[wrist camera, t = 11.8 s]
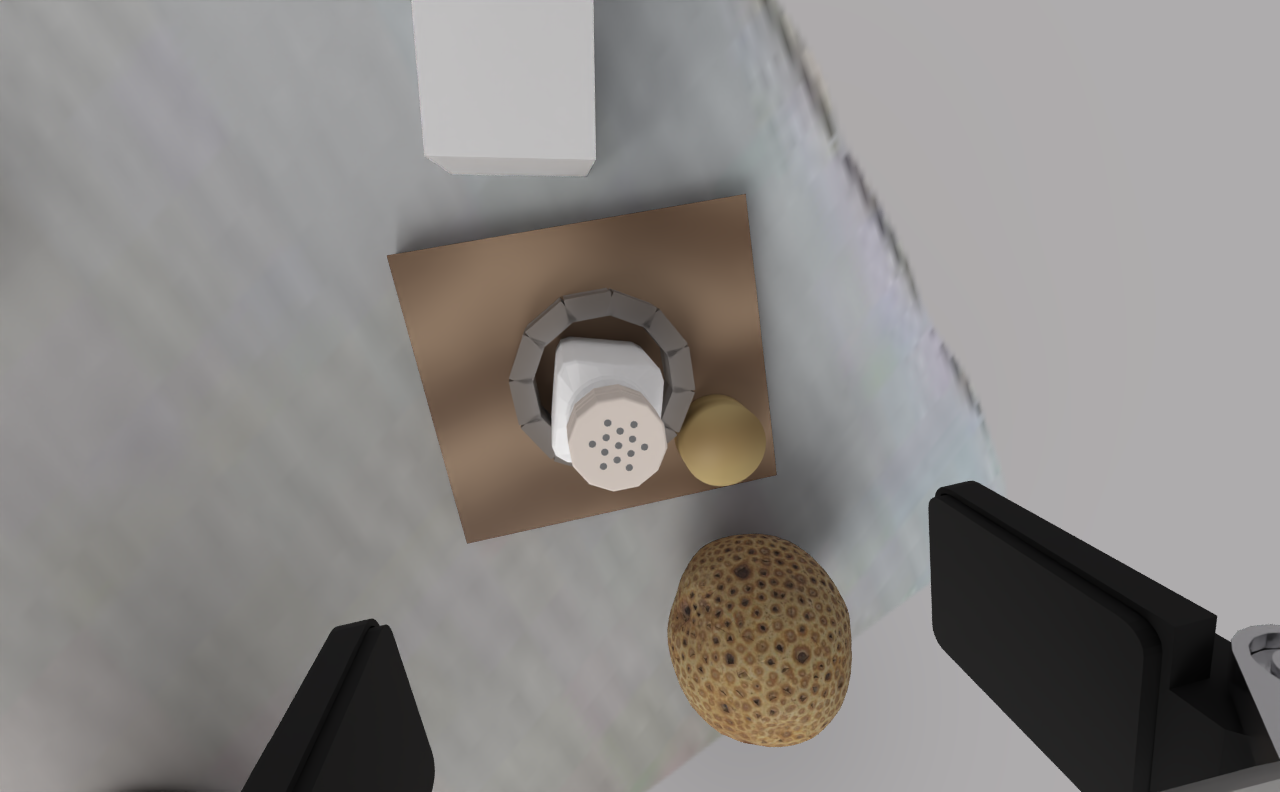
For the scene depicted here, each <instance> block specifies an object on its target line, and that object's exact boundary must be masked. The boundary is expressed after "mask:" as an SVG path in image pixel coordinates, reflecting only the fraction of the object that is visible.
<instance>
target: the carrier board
mask: <svg viewBox="0 0 1280 792" xmlns="http://www.w3.org/2000/svg"><path fill="white" fill-rule="evenodd" d="M387 259H388V262H389V266H390V269H391V273H392V276H393V280H394V284H395V287H396V291H397V294H398V298H399V302H400V305H401V309H402V312H403V316H404V319H405V323H406V327H407V330H408V334H409V337H410V341H411V345H412V348H413V352H414V355H415V359H416V362H417V366H418V370H419V373H420V377H421V380H422V384H423V387H424V391H425V395H426V398H427V402H428V405H429V409H430V413H431V416H432V420H433V423H434V427H435V430H436V434H437V438H438V441H439V445H440V448H441V452H442V456H443V459H444V463H445V466H446V470H447V473H448V477H449V481H450V484H451V488H452V491H453V495H454V498H455V502H456V506H457V509H458V513H459V516H460V520H461V524H462V527H463V531H464V534H465V538H466V541H467V544H468V543H472V542H477V541H481V540H486V539H490V538H495V537H499V536H504V535H508V534H513V533H517V532H522V531H526V530H531V529H535V528H540V527H544V526H549V525H554V524H558V523H563V522H567V521H572V520H576V519H581V518H585V517H590V516H594V515H599V514H603V513H608V512H612V511H617V510H621V509H626V508H630V507H635V506H639V505H644V504H648V503H653V502H657V501H662V500H666V499H671V498H675V497H680V496H684V495H689V494H693V493H698V492H702V491H707V490H711V489H716V488H721V487H725V486H730V485H734V484H739V483H743V482H748V481H752V480H757V479H761V478H766V477H770V476H775V475H777V473H776V464H775V455H774V446H773V437H772V428H771V419H770V410H769V401H768V392H767V383H766V374H765V365H764V356H763V347H762V338H761V329H760V320H759V310H758V301H757V292H756V283H755V274H754V265H753V256H752V247H751V238H750V229H749V220H748V211H747V202H746V194H743V195H737V196H731V197H725V198H719V199H713V200H708V201H702V202H696V203H690V204H684V205H678V206H673V207H667V208H661V209H655V210H649V211H643V212H638V213H632V214H626V215H620V216H614V217H608V218H603V219H597V220H591V221H585V222H579V223H573V224H568V225H562V226H556V227H550V228H544V229H539V230H533V231H527V232H521V233H515V234H509V235H504V236H498V237H492V238H486V239H480V240H474V241H469V242H463V243H457V244H451V245H445V246H439V247H434V248H428V249H422V250H416V251H410V252H404V253H399V254H393V255H387ZM567 337H582V338H594V339H606V340H618V341H629V342H633V343H635V344H637V345H639V346H640V347H641V348H642V349H643V350H644V351H645V353H646V354H647V355H648V356H649V357H650V358H651V360H652V361H653V362H654V363H655V364H656V365H657V367H658V368H659V369H660V371H661V374H662V377H663V380H664V387H663V401H662V411H661V420H662V421H663V423H664V428H665V434H666V441H667V450H666V452H665V455H664V457H663V460H662V462H661V465H660V467H659V469H658V471H657V472H655V473H654V474H653V475H652V476H651V477H649V478H648V479H647V480H646V481H644V482H643V483H642V484H641V485H640V486H638V487H633V488H628V489H623V490H618V491H610V490H607V489H604V488H600V487H597V486H594V485H590V484H589V483H588V482H587V481H586V480H585V479H584V478H583V477H582V476H581V475H580V474H579V473H578V471H577V470H576V469H575V468H574V467H573V466H572V463H571V462H566V461H564V460H563V459H561V458H559V457H557V456H556V455H555V453H554V450H553V448H552V418H551V407H552V393H553V380H554V366H555V353H556V347H557V345H558V343H559V341H560V340H561V339H564V338H567Z"/></svg>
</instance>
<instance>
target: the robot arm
mask: <svg viewBox="0 0 1280 792" xmlns="http://www.w3.org/2000/svg"><path fill="white" fill-rule="evenodd" d="M929 537H930V567H931V596H932V625H933V631H934V635H935V637H936V639H937V641H938V643H939V645H940V646H941V647H942V649H943V650H944V651H945V652H946V653H947V654H948V655H949V656H950V657H951V658H952V659H953V660H954V661H955V662H956V663H957V664H958V665H959V666H960V667H961V668H962V669H963V670H964V672H965V673H967V675H968V676H970V678H971V679H972V680H973V681H974V682H975V683H976V684H977V685H978V686H979V687H980V688H981V689H982V690H983V691H984V692H985V693H986V694H987V695H988V696H989V697H990V698H991V699H992V700H993V701H994V702H995V703H996V704H997V705H998V706H999V707H1000V708H1001V710H1002V711H1003V712H1004V713H1005V714H1006V715H1007V716H1008V717H1009V718H1010V719H1011V720H1012V721H1013V722H1014V723H1015V724H1016V725H1017V726H1018V727H1019V728H1020V729H1021V730H1022V731H1023V732H1024V733H1025V734H1026V735H1027V736H1028V737H1029V738H1030V739H1031V740H1032V741H1033V742H1034V743H1035V744H1036V746H1038V748H1039V749H1040V750H1041V751H1042V752H1043V753H1044V754H1045V755H1046V756H1047V757H1048V758H1049V759H1050V760H1051V761H1052V762H1053V763H1054V764H1055V765H1056V766H1057V767H1058V768H1059V769H1060V770H1061V771H1062V772H1063V773H1064V774H1065V775H1066V776H1067V777H1068V778H1069V779H1070V780H1071V782H1073V783H1074V785H1075V786H1076V787H1077V788H1078V789H1079V790H1080V791H1081V792H1280V625H1271V624H1270V625H1257V626H1250V627H1247V628H1245V629H1242V630H1239V631H1238V632H1237V633H1236V634H1235V635H1234V636H1233V638H1232V639H1231V642H1230V641H1228V640H1226V639H1224V638H1223V637H1221V636H1219V635H1217V634H1216V633H1215V630H1216V622H1217V616H1216V615H1215V614H1213V613H1211V612H1209V611H1208V610H1206V609H1204V608H1202V607H1201V606H1198V605H1197V604H1195V603H1193V602H1191V601H1190V600H1188V599H1186V598H1184V597H1183V596H1181V595H1179V594H1177V593H1175V592H1173V591H1172V590H1170V589H1168V588H1166V587H1164V586H1163V585H1161V584H1159V583H1157V582H1156V581H1154V580H1152V579H1150V578H1148V577H1147V576H1145V575H1143V574H1141V573H1139V572H1137V571H1136V570H1134V569H1132V568H1130V567H1129V566H1127V565H1125V564H1123V563H1121V562H1120V561H1118V560H1116V559H1114V558H1112V557H1110V556H1109V555H1107V554H1105V553H1103V552H1102V551H1100V550H1098V549H1096V548H1094V547H1093V546H1091V545H1089V544H1087V543H1086V542H1084V541H1082V540H1080V539H1078V538H1076V537H1075V536H1073V535H1071V534H1069V533H1068V532H1066V531H1064V530H1062V529H1060V528H1059V527H1057V526H1055V525H1053V524H1051V523H1050V522H1048V521H1046V520H1044V519H1042V518H1040V517H1039V516H1037V515H1035V514H1033V513H1032V512H1030V511H1028V510H1026V509H1024V508H1022V507H1021V506H1019V505H1017V504H1015V503H1014V502H1012V501H1010V500H1008V499H1006V498H1005V497H1003V496H1001V495H999V494H997V493H996V492H994V491H992V490H990V489H988V488H987V487H985V486H983V485H981V484H980V483H978V482H975V481H967V482H962V483H958V484H954V485H949V486H945V487H941V488H939V489H938V490H937V492H936V494H935V497H934V498H932V499H931V500H930V502H929ZM434 775H435V767H434V758H433V754H432V751H431V748H430V745H429V742H428V739H427V735H426V732H425V729H424V726H423V723H422V720H421V717H420V714H419V711H418V708H417V705H416V702H415V699H414V696H413V693H412V690H411V687H410V684H409V681H408V678H407V675H406V672H405V669H404V666H403V663H402V660H401V657H400V654H399V651H398V648H397V645H396V642H395V639H394V636H393V633H392V630H391V628H390V627H389V626H388V625H383V626H379V624H378V622H377V621H376V620H375V619H368V620H363V621H359V622H354V623H350V624H346V625H341V626H337V627H335V628H334V629H333V630H332V631H331V633H330V634H329V636H328V638H327V640H326V642H325V643H324V645H323V647H322V649H321V651H320V652H319V654H318V656H317V658H316V660H315V661H314V663H313V665H312V667H311V668H310V670H309V672H308V674H307V676H306V677H305V679H304V681H303V683H302V685H301V686H300V688H299V690H298V692H297V694H296V695H295V697H294V699H293V701H292V702H291V704H290V706H289V708H288V710H287V711H286V713H285V715H284V717H283V719H282V720H281V722H280V724H279V726H278V728H277V729H276V731H275V733H274V735H273V736H272V738H271V740H270V741H269V743H268V744H267V746H266V748H265V750H264V752H263V753H262V755H261V757H260V759H259V761H258V762H257V764H256V766H255V768H254V770H253V771H252V773H251V775H250V777H249V778H248V780H247V782H246V784H245V786H244V787H243V789H242V791H241V792H432V788H433V783H434Z"/></svg>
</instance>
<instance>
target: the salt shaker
mask: <svg viewBox="0 0 1280 792" xmlns="http://www.w3.org/2000/svg"><path fill="white" fill-rule="evenodd" d="M663 387H664V380H663V377H662V374H661V371H660V369H659V368H658V367H657V365H656V364H655V363H654V362H653V361H652V360H651V358H650V357H649V356H648V355H647V354H646V353H645V351H644V350H643V349H642V348H641V347H640V346H639V345H637V344H635V343H633V342H629V341H618V340H606V339H594V338H582V337H567V338H564V339H561V340H560V341H559V343H558V345H557V347H556V353H555V366H554V380H553V393H552V407H551V418H552V448H553V450H554V453H555V455H556V456H557V457H559V458H561V459H563V460H564V461H566V462H571V463H572V466H573V467H574V468H575V469H576V470H577V471H578V473H579V474H580V475H581V476H582V477H583V478H584V479H585V480H586V481H587V482H588V483H589V484H590V485H594V486H597V487H600V488H604V489H607V490H610V491H618V490H623V489H628V488H633V487H638V486H640V485H641V484H642V483H643V482H644V481H646V480H647V479H648V478H649V477H651V476H652V475H653V474H654V473H655V472H657V471H658V469H659V467H660V465H661V462H662V460H663V457H664V455H665V452H666V450H667V441H666V434H665V428H664V423H663V421H662V420H661V411H662V401H663Z"/></svg>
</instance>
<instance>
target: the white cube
mask: <svg viewBox="0 0 1280 792" xmlns="http://www.w3.org/2000/svg"><path fill="white" fill-rule="evenodd" d="M411 5H412V17H413V28H414V40H415V52H416V64H417V76H418V87H419V99H420V111H421V123H422V135H423V146H424V156H425V157H427V158H428V159H430V160H431V161H432V162H434V163H435V164H437V165H438V166H440V167H441V168H443V169H444V170H446V171H447V172H449V173H450V174H453V175H508V176H564V177H587V175H588V173H589V171H590V169H591V168H592V166H593V164H594V162H595V160H596V134H595V70H594V6H593V0H411Z"/></svg>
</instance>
